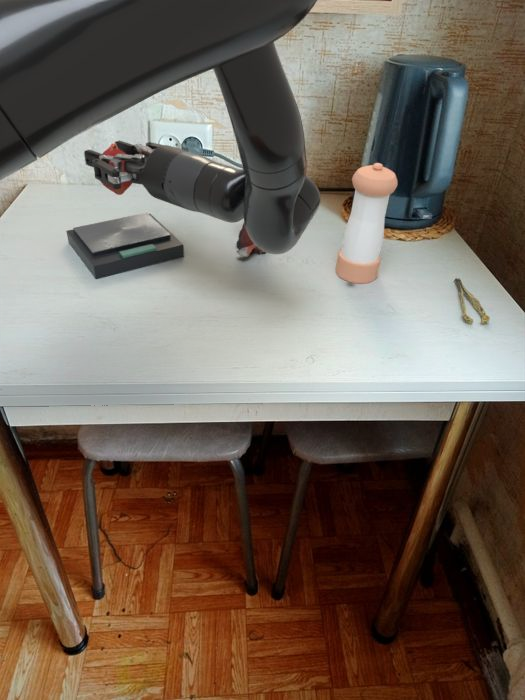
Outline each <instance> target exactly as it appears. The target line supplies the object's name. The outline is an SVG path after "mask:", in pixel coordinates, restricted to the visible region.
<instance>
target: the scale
mask: <svg viewBox="0 0 525 700" xmlns="http://www.w3.org/2000/svg"><path fill="white" fill-rule="evenodd" d="M66 236H67V242H68V244H69V245H70V247H71V248H72V250H74V252H75V253H76V255H77V256H78V257H79V259H80V260H81V261H82V263H83V264H84V265H85V266H86V268H87V269H88V271H89V272H90V273H91V275H92V276H93V277H94V278H95V279H96V280H97V279H102V278H105V277H109V276H113V275H117V274H122V273H125V272H129V271H133V270H137V269H140V268H145V267H148V266H152V265H157V264H161V263H165V262H169V261H172V260H176V259H180V258H184V257H185V247H184V246H185V245H184V243H183V242H182V241H180V240H179V238H178V237H176V236H175V235H174V234H173V233H172V232H171V231H170V230H169V229H168V228H166V227H165V226H164V225H163V224H162V223H161V222H160V221H159V220H158V219H156V218H155V216H154V215H153V214H151V213H148V212H144V213H139V214H134V215H129V216H125V217H119V218H114V219H109V220H105V221H99V222H94V223H89V224H86V225H80V226H75V227H73V228H72V229H68V230H66Z"/></svg>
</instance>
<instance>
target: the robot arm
mask: <svg viewBox="0 0 525 700" xmlns="http://www.w3.org/2000/svg"><path fill="white" fill-rule="evenodd" d="M317 2H318V0H0V182H1V181H2V180H4V179H6V178H8V177H10V176H12V175H14V174H15V173H17V172H18V171H20V170H22V169H25V167H27V166H29V165H31V164H33V163H35V162H37V161H38V159H41V158H43V157H44V156H47V155H48V154H49V153H51V152H52V151H54V150H55V149H57V148H59V147H60V146H62V145H64V144H65V143H66V142H68V141H70V140H72V139H73V138H74V137H77V136H79V135H81V134H83V133H84V132H86V131H88V130H90V129H93V128H94V127H96V126H98V125H99V124H102V123H104V122H105V121H107V120H109V119H111V118H113V117H115V116H118V115H119V114H121V113H122V112H124V111H126V110H128V109H130V108H132V107H133V106H134V107H135V106H136V105H138V104H140V103H142V102H143V101H145V100H147V99H149V98H151V97H153V96H155V95H157V94H158V93H160V92H163V91H166V90H167V89H169V88H171V87H174V86H176V85H178V84H181V83H183V82H185V81H188V80H190V79H192V78H194V77H197V76H199V75H202V74H204V73H207V72H209V71H211V70H213V73H214V76H215V78H216V80H217V83H218V86H219V89H220V92H221V96H222V98H223V101H224V104H225V107H226V109H227V113H228V116H229V120H230V124H231V127H232V131H233V134H234V138H235V143H236V145H237V150H238V154H239V158H240V162H241V165H242V168H236V167H234V166H230V165H227V164H225V163H221V162H217V161H215V160H213V159H211V158H210V157H209V158H208V157H206V156H204V155H201V154H198V153H194V152H191V151H188V150H186V149H185V150H184V149H182V148H179V147H175V146H172V145H167V144H161V143H156V142H151V141H148V142H146V143H145V145H142V144H141V143H135V144H132V143H129V142H125V141H123V140H117V141H115V142H114V143H116V145H117V147H118V149H120V150H121V151H123V152H125V153H126V154H127V155H126V154H117V155H115V156H107V155H104V154H102V153H101V152H98V151H95V150H92V149H86V150H84V152H83V153H84V154H83V155H84V161H85V165H86V166H88V167H90V168H93V171H94V179H96V180H98V181H99V182H100V183H101V182H103V183H105V184H106V185H108V186H110V187H112V188H113V189H120V188H121V183H122V182H125V181H130V182H131V183H132V184H135V185H136V184H137V185H142V186H143V187H144V188H145V190H146V191H147V193H148V194H149V195H150V196H151V197H152V198H154V199H157V200H159V201H162V202H165V203H168V204H169V205H173V206H176V207H179V208H181V209H185V210H186V211H190V212H195V213H200V214H204V215H206V216H209V217H212V218H214V219H217V220H220V221H223V222H225V223H230V224H231V223H232V224H235V223H238V222H240V221H242V220H243V223H244V224H245V228H246V231H247V233H248V235H249V237H250V239H251V240H252V242H253V243H254V244H255V245H256V246H257V247H258V248H259V249H261V250H262V251H264V252H263V253H267V254H270V255H282V254H286V253H288V252H290V251H291V250H292V249H293V248H294V247H295V246H296V245H297V243H298V242H299V241H300V239H301V237H302V236H303V234H304V232H305V231H306V229H307V228H308V226H309V224H310V223H311V221H312V220H313V218H314V216H315V215H316V213H317V212H318V211H319V208H320V206H321V202H322V199H321V198H322V196H321V191H320V189H319V187H318V186H317V184H316V183H315V182H314V181H313V180H312V178H310V177H308V176H307V172H308V163H307V152H306V151H307V150H306V139H305V131H304V127H303V126H304V125H303V121H302V117H301V113H300V109H299V106H298V103H297V101H296V98H295V95H294V93H293V90H292V88H291V85H290V82H289V80H288V77H287V75H286V72H285V69H284V67H283V65H282V61H281V60H280V56H279V53H278V50H277V47H276V44H275V42H276V41H278V40H279V39H281V38H282V37H284V36H285V35H287V34H288V33H289V32H290V31H292V30H294V28H295V27H297V25H299V24H300V23H301V22H302V21H303V20H304V19H305V18H306V17H307V16H308V14H309V13H310V12H311V10H313V7H315V5H316V3H317ZM122 161H125V162H124V168H125V172H123V166H122ZM109 162H112V163H113V164H114V167H113V166H111V165H109ZM258 248H257V249H258ZM259 249H258V250H259Z"/></svg>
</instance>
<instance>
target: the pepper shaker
mask: <svg viewBox="0 0 525 700" xmlns="http://www.w3.org/2000/svg"><path fill="white" fill-rule="evenodd" d="M351 181H352V182H351V183H352V187H353V188H354V189H355V190H354V193H353V194H354V195H353V200H352V205H351V210H350V215H349V218H348V220H347V223H346V225H345V228H344V231H343V234H342V235H343V236H342V243H341V248H340V249H339V251H338V254H337V259H336V265H335V273H336V275H337V276H338V277H339V278H341V279H342V280H344V281H346V282H348V283H349V282H350V283H353V284H368V283H371V282H374V281H375V280H376V279H377V276H378V272H379V268H380V264H381V260H382V258H381V249H382V246H383V243H384V238H385V237H384V235H385V220H386V215H387V209H388V206H389V200H390V195H392V194H393V193H394V192H395V190H396V189H397V187H398V186H399V185H398V183H399V182H398V178H397V175H396V173H395V172H394V171H393V170H391V169H389V168H387V167H384V165H383V164H382V163H380V162H375V163H373V164H370V165H365V166H361V167H359V168H358V169H357V170H356V171H355V172H354V174H353V175H352V178H351Z"/></svg>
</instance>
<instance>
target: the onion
mask: <svg viewBox="0 0 525 700" xmlns="http://www.w3.org/2000/svg"><path fill="white" fill-rule="evenodd" d="M101 154H104V155H107V156H115V155H117V154H126V153H125V152H123V151H121V150H120V149H118V147H117V145H116V143H115V142H111V144H110V146H109V147H108V148H107V149H106V150H104V151H103V152H102V153H101ZM126 155H127V154H126ZM124 162H125V161H122V166H123V172H125V168H124ZM109 165H111V166H113V167H114V164H113V163H112V162H109ZM100 183H101V184H102V185H103V186H104V188H106V189H107V190H109V191H110V192H113V193H114V194H115V195H118V196H121V195H123V194H124V193H125V192H126V191H127V190H128V189H129V188H130V187H131V186H132V184H133V183H131V182H130V181H125V182H122V183H121V188H120V189H113V188H112V187H110V186H108V185H106V184H105V183H103V182H101V181H100Z"/></svg>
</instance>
